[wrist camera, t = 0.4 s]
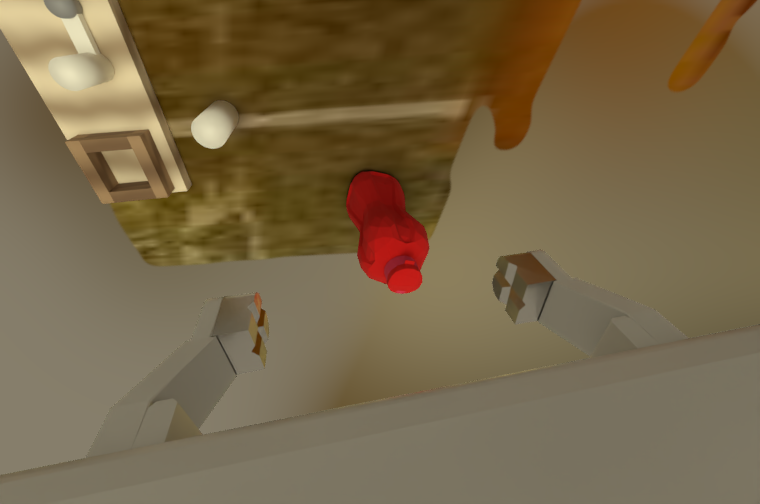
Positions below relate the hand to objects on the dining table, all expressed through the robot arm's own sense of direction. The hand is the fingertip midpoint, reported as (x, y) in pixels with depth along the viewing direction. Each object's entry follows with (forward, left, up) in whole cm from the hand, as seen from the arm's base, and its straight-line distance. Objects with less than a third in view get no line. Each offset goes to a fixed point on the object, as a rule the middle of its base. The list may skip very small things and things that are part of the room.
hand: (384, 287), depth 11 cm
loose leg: (+4, -15, -45) cm, 48 cm away
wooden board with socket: (+1, -29, -45) cm, 54 cm away
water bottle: (+20, +6, -45) cm, 50 cm away
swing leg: (-6, -27, -43) cm, 51 cm away
